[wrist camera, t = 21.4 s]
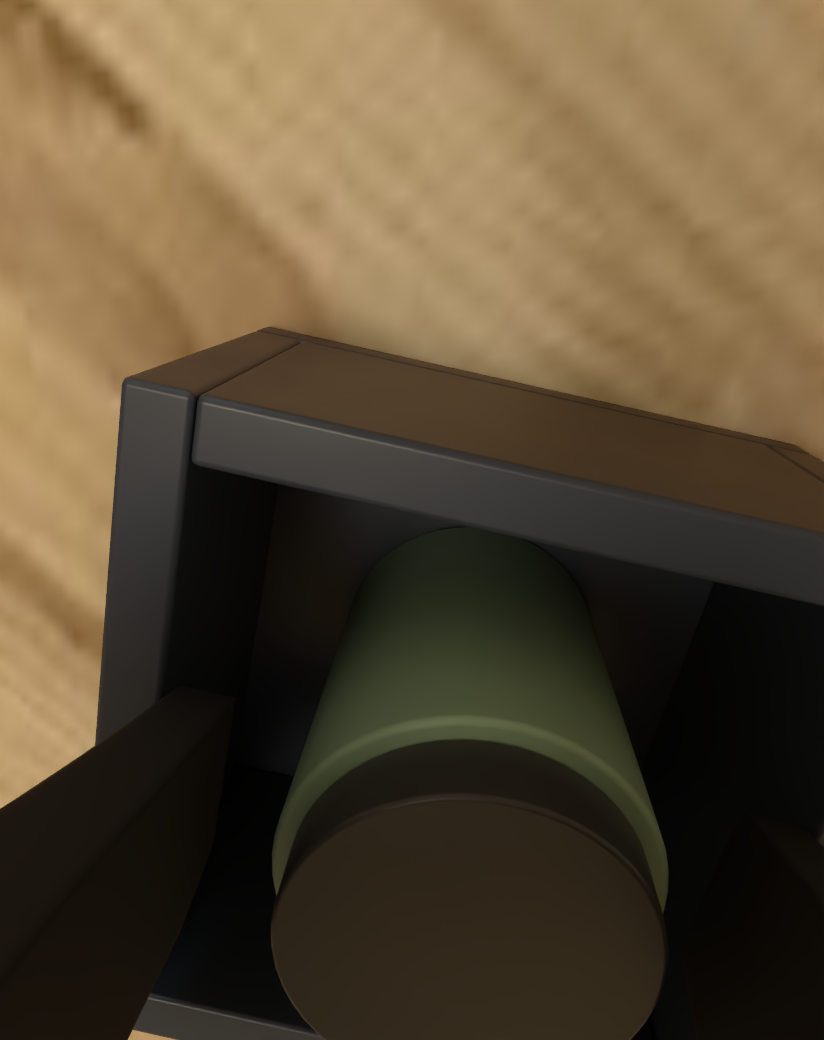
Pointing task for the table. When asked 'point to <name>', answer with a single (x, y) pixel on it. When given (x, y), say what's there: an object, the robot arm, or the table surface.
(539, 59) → the table surface
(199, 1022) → the bin
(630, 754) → the green lidded canister
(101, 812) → the robot arm
